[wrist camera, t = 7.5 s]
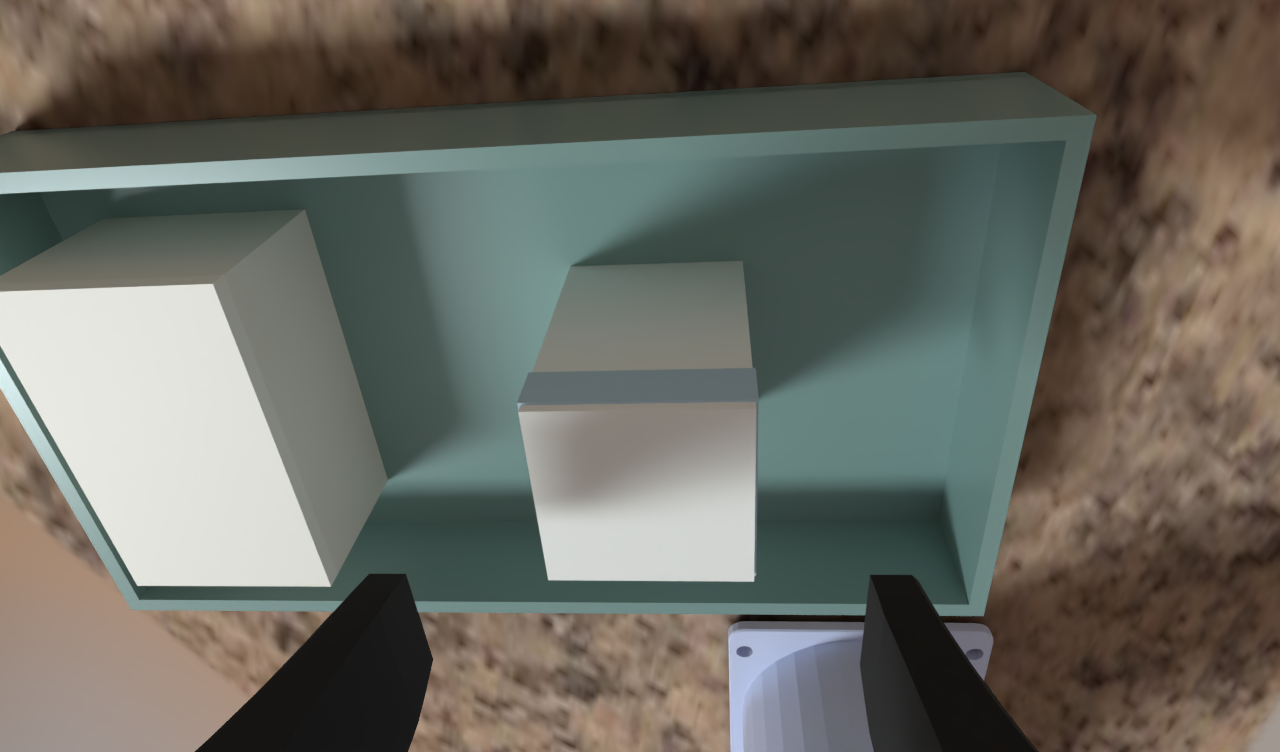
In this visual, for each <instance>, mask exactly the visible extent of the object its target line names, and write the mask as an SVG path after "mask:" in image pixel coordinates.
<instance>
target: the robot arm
mask: <svg viewBox="0 0 1280 752" xmlns="http://www.w3.org/2000/svg"><path fill="white" fill-rule="evenodd" d="M728 643H729V693H730V743H731V752H1038V751H1037V749H1036V748H1035V747H1034V746H1033V744H1032V743H1031V742H1030V741H1029V740H1028V738H1027V737H1026V736H1025V735H1024V733H1023V732H1022V731H1021V730H1020V728H1019V727H1018V726H1017V724H1016V723H1015V722H1014V721H1013V719H1012V718H1011V717H1010V715H1009V714H1008V713H1007V712H1006V710H1005V709H1004V708H1003V706H1002V705H1001V703H1000V702H999V701H998V699H997V698H996V697H995V695H994V694H993V693H992V691H991V690H990V689H989V687H988V686H987V684H986V683H985V682H984V679H985V675H986V671H987V667H988V663H989V659H990V655H991V650H992V646H993V636H992V634H991V631H990V629H989V628H988V627H987V626H985V625H983V624H979V623H944V622H943V620H942V619H941V617H940V616H939V614H938V613H937V611H936V609H935V608H934V606H933V604H932V603H931V601H930V600H929V598H928V596H927V595H926V593H925V591H924V589H923V588H922V586H921V584H920V583H919V581H918V580H917V579H916V578H915V577H914V576H913V575H870V578H869V587H868V596H867V605H866V614H865V622H788V621H741V622H737V623H735V624H733V625H732V626H731V627H730V628H729V631H728ZM742 646H747V647H742ZM432 662H433V658H432V655H431V651H430V648H429V645H428V642H427V639H426V636H425V632H424V629H423V626H422V623H421V620H420V617H419V613H418V610H417V607H416V604H415V601H414V598H413V595H412V591H411V588H410V585H409V582H408V579H407V576H406V574H368V575H367V576H366V578H365V579H364V580H363V581H362V582H361V583H360V584H359V585H358V586H357V587H356V588H355V589H354V590H353V591H352V592H351V593H350V594H349V595H348V596H347V598H346V599H345V600H344V601H343V602H342V603H341V604H340V605H339V606H338V607H337V608H336V609H335V611H334V612H333V613H332V614H331V615H330V616H329V617H328V618H327V619H326V620H325V621H324V622H323V624H322V625H321V626H320V627H319V628H318V629H317V630H316V631H315V632H314V633H313V634H312V635H311V636H310V638H309V639H308V640H307V641H306V642H305V643H304V644H303V645H302V646H301V647H300V648H299V649H298V650H297V651H296V652H295V653H294V655H293V656H292V657H291V658H290V659H289V660H288V661H287V662H286V663H285V664H284V665H283V666H282V667H281V668H280V669H279V670H278V671H277V672H276V673H275V674H274V675H273V676H272V677H271V678H270V680H269V681H268V682H267V683H266V684H265V685H264V686H263V687H262V688H261V689H260V690H259V691H258V692H257V693H256V694H255V695H254V696H253V697H252V698H251V699H250V700H249V701H248V702H247V703H246V704H245V705H243V706H242V707H241V708H240V709H239V710H238V712H236V713H235V714H234V715H233V716H232V717H231V718H230V719H229V720H228V721H227V722H226V723H225V724H224V725H223V726H222V727H221V728H220V729H219V730H218V731H217V732H215V733H214V735H212V736H211V737H210V738H209V739H208V740H207V741H206V742H205V743H204V744H203V745H202V746H200V747H199V748H198V749H197V750H196V751H195V752H408V750H409V747H410V744H411V742H412V739H413V736H414V733H415V730H416V727H417V725H418V721H419V717H420V713H421V709H422V705H423V701H424V697H425V693H426V689H427V684H428V680H429V675H430V671H431V666H432Z"/></svg>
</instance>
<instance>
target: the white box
mask: <svg viewBox="0 0 1280 752" xmlns="http://www.w3.org/2000/svg"><path fill="white" fill-rule="evenodd" d="M0 346H1V348H2V350H3V351H4V353H5V355H6V357H7V358H8V360H9V362H10V364H11V365H12V367H13V369H14V371H15V372H16V374H17V376H18V378H19V379H20V381H21V383H22V385H23V386H24V388H25V390H26V392H27V393H28V395H29V397H30V399H31V400H32V402H33V404H34V406H35V407H36V409H37V411H38V413H39V414H40V416H41V418H42V420H43V421H44V423H45V425H46V427H47V428H48V430H49V432H50V434H51V435H52V437H53V439H54V441H55V442H56V444H57V446H58V448H59V449H60V451H61V453H62V455H63V456H64V458H65V460H66V462H67V463H68V465H69V467H70V469H71V470H72V472H73V474H74V476H75V477H76V479H77V481H78V483H79V484H80V486H81V488H82V490H83V491H84V493H85V495H86V497H87V498H88V500H89V502H90V504H91V505H92V507H93V509H94V511H95V512H96V514H97V516H98V518H99V519H100V521H101V523H102V525H103V526H104V528H105V530H106V532H107V533H108V535H109V537H110V539H111V540H112V542H113V544H114V546H115V547H116V549H117V551H118V553H119V554H120V556H121V558H122V560H123V561H124V563H125V565H126V567H127V568H128V570H129V572H130V574H131V575H132V577H133V579H134V581H135V582H136V584H137V586H312V587H331V586H332V584H333V582H334V580H335V578H336V576H337V575H338V573H339V571H340V569H341V567H342V565H343V563H344V561H345V560H346V558H347V556H348V554H349V552H350V550H351V548H352V546H353V545H354V543H355V541H356V539H357V537H358V535H359V533H360V532H361V530H362V528H363V526H364V524H365V522H366V520H367V518H368V517H369V515H370V513H371V511H372V509H373V507H374V505H375V504H376V502H377V500H378V498H379V496H380V494H381V492H382V490H383V489H384V487H385V485H386V483H387V481H388V478H387V475H386V472H385V469H384V465H383V462H382V459H381V456H380V452H379V449H378V446H377V443H376V439H375V436H374V433H373V430H372V426H371V423H370V420H369V416H368V413H367V410H366V407H365V403H364V400H363V397H362V394H361V390H360V387H359V384H358V381H357V377H356V374H355V371H354V368H353V364H352V361H351V358H350V355H349V351H348V348H347V345H346V342H345V338H344V335H343V332H342V328H341V325H340V322H339V319H338V315H337V312H336V309H335V306H334V302H333V299H332V296H331V293H330V289H329V286H328V283H327V280H326V276H325V273H324V270H323V267H322V263H321V260H320V257H319V254H318V250H317V247H316V244H315V240H314V237H313V234H312V231H311V227H310V224H309V221H308V218H307V214H306V211H305V209H298V210H277V211H255V212H233V213H212V214H190V215H168V216H146V217H125V218H104V219H102V220H100V221H98V222H96V223H95V224H93V225H91V226H89V227H87V228H86V229H84V230H82V231H80V232H78V233H77V234H75V235H73V236H71V237H69V238H68V239H66V240H64V241H62V242H60V243H59V244H57V245H55V246H53V247H51V248H50V249H48V250H46V251H44V252H42V253H41V254H39V255H37V256H35V257H33V258H32V259H30V260H28V261H26V262H24V263H23V264H21V265H19V266H17V267H15V268H14V269H12V270H10V271H8V272H6V273H5V274H3V275H1V276H0Z"/></svg>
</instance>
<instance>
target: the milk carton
mask: <svg viewBox="0 0 1280 752" xmlns="http://www.w3.org/2000/svg"><path fill="white" fill-rule="evenodd" d="M517 405H518V414H519V420H520V426H521V431H522V437H523V442H524V448H525V453H526V459H527V465H528V470H529V476H530V481H531V487H532V492H533V498H534V504H535V509H536V515H537V520H538V526H539V531H540V537H541V543H542V548H543V554H544V559H545V565H546V570H547V576H548V580H582V581H732V582H754V576H756V559H757V489H758V418H759V396H758V386H757V376H756V368H753V367H752V356H751V345H750V334H749V323H748V313H747V302H746V291H745V280H744V269H743V261H721V262H690V263H659V264H628V265H597V266H570V268H569V271H568V274H567V277H566V280H565V282H564V285H563V288H562V291H561V294H560V296H559V299H558V302H557V305H556V308H555V310H554V313H553V316H552V319H551V321H550V324H549V327H548V330H547V333H546V335H545V338H544V341H543V344H542V347H541V349H540V352H539V355H538V358H537V361H536V363H535V366H534V369H533V372H528V375H527V377H526V380H525V383H524V386H523V388H522V391H521V394H520V397H519V399H518V402H517Z"/></svg>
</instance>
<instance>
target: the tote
mask: <svg viewBox="0 0 1280 752" xmlns="http://www.w3.org/2000/svg"><path fill="white" fill-rule="evenodd" d="M1096 117H1097V114H1095V113H1093V112H1092V111H1090V110H1088V109H1087V108H1085V107H1083V106H1082V105H1080V104H1078V103H1077V102H1075V101H1073V100H1072V99H1070V98H1068V97H1067V96H1065V95H1063V94H1062V93H1060V92H1058V91H1056V90H1055V89H1053V88H1051V87H1050V86H1048V85H1046V84H1045V83H1043V82H1041V81H1040V80H1038V79H1036V78H1035V77H1033V76H1031V75H1030V74H1028V73H1026V72H1012V73H995V74H978V75H961V76H944V77H927V78H910V79H893V80H876V81H859V82H842V83H825V84H808V85H791V86H774V87H757V88H740V89H723V90H706V91H688V92H671V93H654V94H637V95H620V96H603V97H586V98H569V99H552V100H535V101H518V102H501V103H484V104H467V105H450V106H433V107H416V108H399V109H382V110H365V111H348V112H331V113H314V114H297V115H280V116H263V117H246V118H229V119H212V120H195V121H178V122H161V123H144V124H127V125H110V126H93V127H76V128H59V129H41V130H24V131H11V132H9V133H6V134H3V135H0V276H1V275H3V274H5V273H6V272H8V271H10V270H12V269H14V268H15V267H17V266H19V265H21V264H23V263H24V262H26V261H28V260H30V259H32V258H33V257H35V256H37V255H39V254H41V253H42V252H44V251H46V250H48V249H50V248H51V247H53V246H55V245H57V244H59V243H60V242H62V241H64V240H66V239H68V238H69V237H71V236H73V235H75V234H77V233H78V232H80V231H82V230H84V229H86V228H87V227H89V226H91V225H93V224H95V223H96V222H98V221H100V220H102V219H104V218H125V217H146V216H168V215H190V214H212V213H233V212H255V211H277V210H298V209H305V211H306V214H307V218H308V221H309V224H310V227H311V231H312V234H313V237H314V240H315V244H316V247H317V250H318V254H319V257H320V260H321V263H322V267H323V270H324V273H325V276H326V280H327V283H328V286H329V289H330V293H331V296H332V299H333V302H334V306H335V309H336V312H337V315H338V319H339V322H340V325H341V328H342V332H343V335H344V338H345V342H346V345H347V348H348V351H349V355H350V358H351V361H352V364H353V368H354V371H355V374H356V377H357V381H358V384H359V387H360V390H361V394H362V397H363V400H364V403H365V407H366V410H367V413H368V416H369V420H370V423H371V426H372V430H373V433H374V436H375V439H376V443H377V446H378V449H379V452H380V456H381V459H382V462H383V465H384V469H385V472H386V475H387V478H388V481H387V483H386V485H385V487H384V489H383V490H382V492H381V494H380V496H379V498H378V500H377V502H376V504H375V505H374V507H373V509H372V511H371V513H370V515H369V517H368V518H367V520H366V522H365V524H364V526H363V528H362V530H361V532H360V533H359V535H358V537H357V539H356V541H355V543H354V545H353V546H352V548H351V550H350V552H349V554H348V556H347V558H346V560H345V561H344V563H343V565H342V567H341V569H340V571H339V573H338V575H337V576H336V578H335V580H334V582H333V584H332V586H331V587H312V586H137V584H136V582H135V581H134V579H133V577H132V575H131V574H130V572H129V570H128V568H127V567H126V565H125V563H124V561H123V560H122V558H121V556H120V554H119V553H118V551H117V549H116V547H115V546H114V544H113V542H112V540H111V539H110V537H109V535H108V533H107V532H106V530H105V528H104V526H103V525H102V523H101V521H100V519H99V518H98V516H97V514H96V512H95V511H94V509H93V507H92V505H91V504H90V502H89V500H88V498H87V497H86V495H85V493H84V491H83V490H82V488H81V486H80V484H79V483H78V481H77V479H76V477H75V476H74V474H73V472H72V470H71V469H70V467H69V465H68V463H67V462H66V460H65V458H64V456H63V455H62V453H61V451H60V449H59V448H58V446H57V444H56V442H55V441H54V439H53V437H52V435H51V434H50V432H49V430H48V428H47V427H46V425H45V423H44V421H43V420H42V418H41V416H40V414H39V413H38V411H37V409H36V407H35V406H34V404H33V402H32V400H31V399H30V397H29V395H28V393H27V392H26V390H25V388H24V386H23V385H22V383H21V381H20V379H19V378H18V376H17V374H16V372H15V371H14V369H13V367H12V365H11V364H10V362H9V360H8V358H7V357H6V355H5V353H4V351H3V350H2V348H1V346H0V388H1V390H2V392H3V393H4V395H5V397H6V398H7V400H8V402H9V403H10V405H11V407H12V408H13V410H14V412H15V414H16V415H17V417H18V419H19V420H20V422H21V424H22V425H23V427H24V429H25V430H26V432H27V434H28V436H29V437H30V439H31V441H32V442H33V444H34V446H35V447H36V449H37V451H38V452H39V454H40V456H41V458H42V459H43V461H44V463H45V464H46V466H47V468H48V469H49V471H50V473H51V475H52V476H53V478H54V480H55V481H56V483H57V485H58V486H59V488H60V490H61V491H62V493H63V495H64V497H65V498H66V500H67V502H68V503H69V505H70V507H71V508H72V510H73V512H74V513H75V515H76V517H77V519H78V520H79V522H80V524H81V525H82V527H83V529H84V530H85V532H86V534H87V535H88V537H89V539H90V541H91V542H92V544H93V546H94V547H95V549H96V551H97V552H98V554H99V556H100V558H101V559H102V561H103V563H104V564H105V566H106V568H107V569H108V571H109V573H110V574H111V576H112V578H113V580H114V581H115V583H116V585H117V586H118V588H119V590H120V591H121V593H122V595H123V596H124V598H125V600H126V602H127V603H128V605H129V607H130V608H131V610H202V611H335V609H336V608H337V607H338V606H339V605H340V604H341V603H342V602H343V601H344V600H345V599H346V598H347V596H348V595H349V594H350V593H351V592H352V591H353V590H354V589H355V588H356V587H357V586H358V585H359V584H360V583H361V582H362V581H363V580H364V579H365V578H366V576H367V575H368V574H406V576H407V579H408V582H409V585H410V588H411V591H412V595H413V598H414V601H415V604H416V607H417V610H418V612H479V613H617V614H756V615H865V614H866V605H867V596H868V587H869V578H870V575H913V576H914V577H915V578H916V579H917V580H918V581H919V583H920V584H921V586H922V588H923V589H924V591H925V593H926V595H927V596H928V598H929V600H930V601H931V603H932V604H933V606H934V608H935V609H936V611H937V613H938V614H939V616H984V613H985V608H986V604H987V599H988V595H989V590H990V586H991V582H992V577H993V573H994V568H995V564H996V560H997V555H998V551H999V546H1000V542H1001V537H1002V533H1003V529H1004V524H1005V520H1006V515H1007V511H1008V506H1009V502H1010V498H1011V493H1012V489H1013V484H1014V480H1015V475H1016V471H1017V467H1018V462H1019V458H1020V453H1021V449H1022V445H1023V440H1024V436H1025V431H1026V427H1027V422H1028V418H1029V414H1030V409H1031V405H1032V400H1033V396H1034V391H1035V387H1036V383H1037V378H1038V374H1039V369H1040V365H1041V361H1042V356H1043V352H1044V347H1045V343H1046V338H1047V334H1048V330H1049V325H1050V321H1051V316H1052V312H1053V307H1054V303H1055V299H1056V294H1057V290H1058V285H1059V281H1060V277H1061V272H1062V268H1063V263H1064V259H1065V254H1066V250H1067V246H1068V241H1069V237H1070V232H1071V228H1072V223H1073V219H1074V215H1075V210H1076V206H1077V201H1078V197H1079V192H1080V188H1081V184H1082V179H1083V175H1084V170H1085V166H1086V162H1087V157H1088V153H1089V148H1090V144H1091V139H1092V135H1093V131H1094V126H1095V122H1096ZM721 261H743V269H744V280H745V291H746V302H747V313H748V323H749V334H750V345H751V356H752V367H753V368H756V376H757V386H758V396H759V418H758V489H757V559H756V576H754V582H732V581H582V580H548V576H547V570H546V565H545V559H544V554H543V548H542V543H541V537H540V531H539V526H538V520H537V515H536V509H535V504H534V498H533V492H532V487H531V481H530V476H529V470H528V465H527V459H526V453H525V448H524V442H523V437H522V431H521V426H520V420H519V414H518V405H517V402H518V399H519V397H520V394H521V391H522V388H523V386H524V383H525V380H526V377H527V375H528V372H533V369H534V366H535V363H536V361H537V358H538V355H539V352H540V349H541V347H542V344H543V341H544V338H545V335H546V333H547V330H548V327H549V324H550V321H551V319H552V316H553V313H554V310H555V308H556V305H557V302H558V299H559V296H560V294H561V291H562V288H563V285H564V282H565V280H566V277H567V274H568V271H569V268H570V266H597V265H628V264H659V263H690V262H721Z"/></svg>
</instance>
